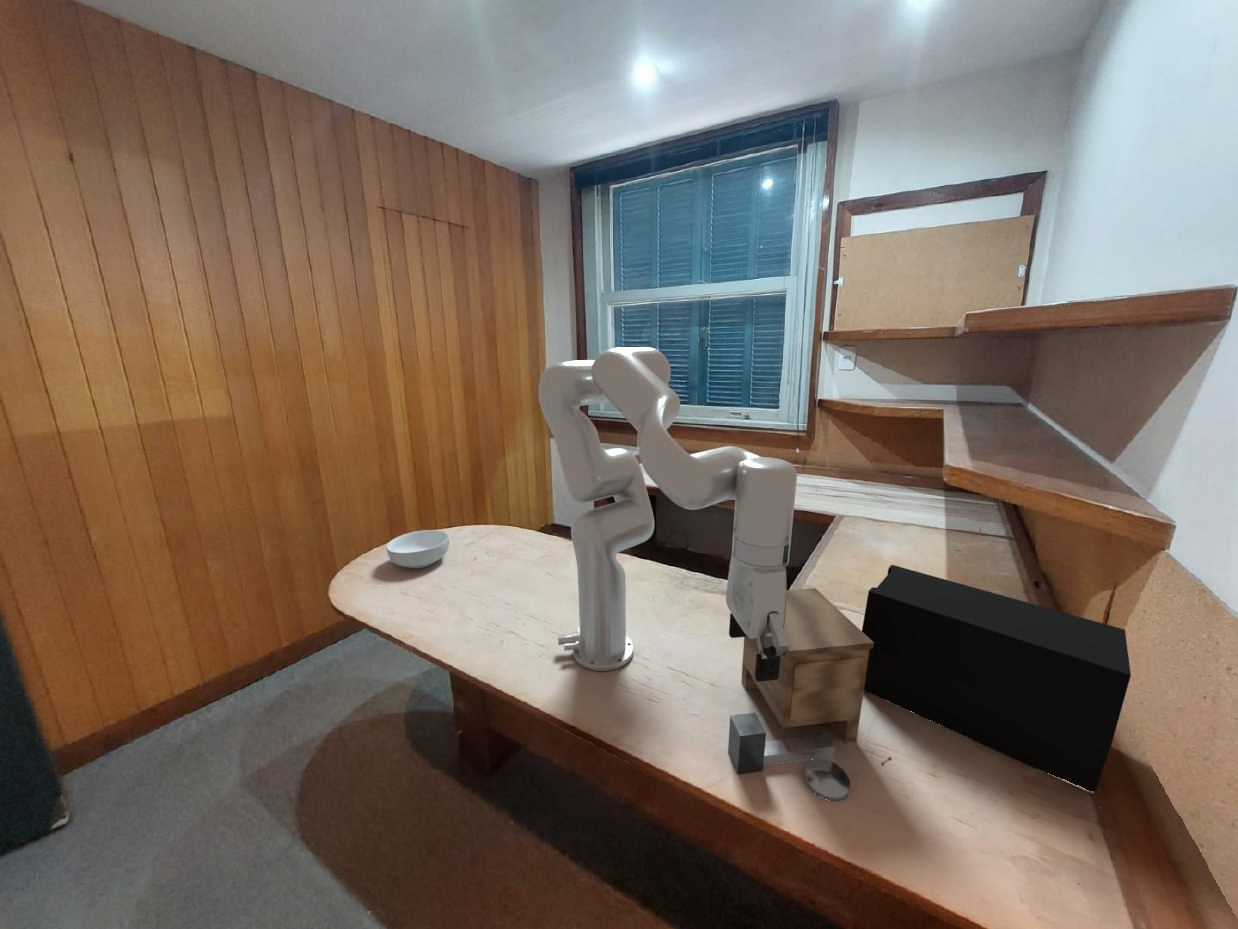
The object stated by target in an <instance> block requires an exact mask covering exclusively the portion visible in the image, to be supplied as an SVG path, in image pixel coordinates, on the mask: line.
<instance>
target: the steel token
mask: <svg viewBox="0 0 1238 929" xmlns="http://www.w3.org/2000/svg"><path fill="white" fill-rule="evenodd" d="M804 771H805V772H804V780H805V784H806V783H807V784H806V786H807V785H808V786H809V787H808V786H807V787H808V789H809V788H810V789H811V790H812V791H813V792H814V793H816V795H815V796H817V797H818V796H820V797H822V798H824V799H827V800H830V801H840V802H842V801H841V800H843V799H844V800H846V799H847V798H846V797H849V794H850V787H851V780H850V777H849V775H848V774H847V772H846V771H845V770H844V769H843V768H842V767H841V766H840V765H838V764H837V763H835V762H834V761H832V760H829V759H827V758H823V759H813V760H808V761H807V764H806V765H805V770H804ZM810 789H809V790H810ZM811 790H810V791H811ZM812 791H811V792H812ZM813 792H812V793H813ZM814 793H813V794H814ZM820 797H819V798H820ZM822 798H821V799H822ZM845 798H846V799H845ZM824 799H823V800H824ZM827 800H826V801H827ZM844 800H843V801H844ZM830 801H829V802H830Z"/></svg>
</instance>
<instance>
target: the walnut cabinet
mask: <svg viewBox="0 0 1238 929" xmlns="http://www.w3.org/2000/svg"><path fill="white" fill-rule="evenodd" d="M766 632H771V631H770V628H769V627H768V628H765V629H764V631H763V633H766ZM784 632H785V634H786V637H787V639H788V642H789V646H788V648H787V650H786V652H785V655H784V656H783V657H781V658H780V668H779V677H778V679H777V680H771V681H761V682H757V681H756V679H755V666H756V654H760V653H759V648H758V643H757V638H754V639H751V638H749V637H743V652H742V664H741V665H742V666H741V667H742V668H741V680H740V683H741V684H742V685H743V687H744V689H745V690H752V689H759V691H760V693H761V694H762V697H763V698H764V699H765V701H766V703H767V704H768V706H769V708H770V710H771V711H772V713H773V715H774V716H775V717H776V719H777V721H778V722H779V725H780V726H781V727H782V729H786V728H793V727H800V726H802V727H803V726H810V725H818V724H824V723H825V724H827V723H830V725H831V726H832V727H834V728H833V729H834V730H835V732H836V731H837V732H838V733H837V732H836V733H837V734H838V736H839V737H840V738H841V740H842V741H843V743H844V742H845V743H844V744H847V742H850V743H856V742H858V741H857V740H858V735H859V734H858V733H859V727H860V719H861V714H862V713H861V712H862V706H863V705H862V704H863V698H864V692H865V691H864V685H865V678H866V671H867V664H868V657H869V650H870V649H872V648H873V645H874V642H873V641H872V640H870V639H869V638H868V637H867V636H866V635H865V634H864V633H863V632H862V629H860V628H859V627H858V626H857V625H856V624H855V623H854V622H852V621H851V620H850V619H849V618H848V617H847V616H846V615H845V614H844V613H842V611H841V610H839V608H837V607H836V606H835V605H834V604H833V603H832V602H831V601H830V600H829V599H828V598H826V597H825V596H824V595H823V594H822V593H821V592H820V591H819V590H818V589H817V588H816V587H812V588H801V589H789V590H787V591H786V616H785V625H784ZM764 643H765V647H766V648H768V647H770V646H773V639H772V637H770V638H764Z"/></svg>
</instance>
